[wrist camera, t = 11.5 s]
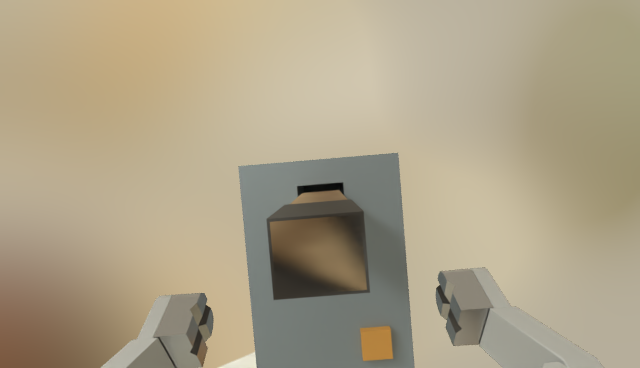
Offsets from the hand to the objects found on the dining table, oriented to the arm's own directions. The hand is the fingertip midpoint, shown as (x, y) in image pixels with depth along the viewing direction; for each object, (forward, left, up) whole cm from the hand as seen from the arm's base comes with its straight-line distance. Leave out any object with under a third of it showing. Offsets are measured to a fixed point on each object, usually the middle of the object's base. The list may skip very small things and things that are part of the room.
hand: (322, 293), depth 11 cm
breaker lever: (0, +7, 0) cm, 7 cm away
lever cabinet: (0, +20, -26) cm, 33 cm away
